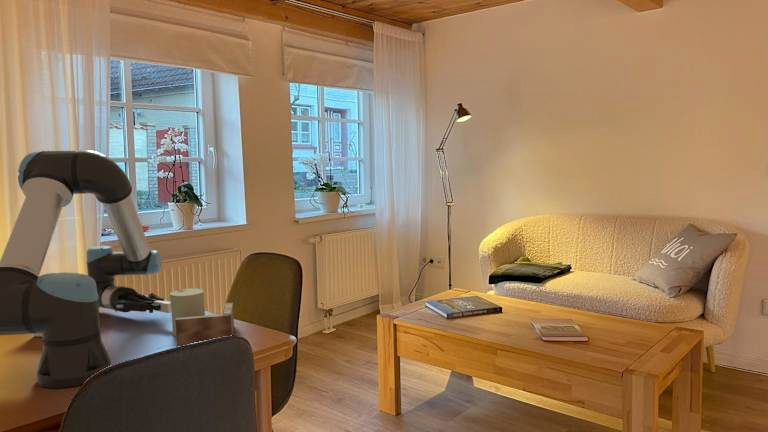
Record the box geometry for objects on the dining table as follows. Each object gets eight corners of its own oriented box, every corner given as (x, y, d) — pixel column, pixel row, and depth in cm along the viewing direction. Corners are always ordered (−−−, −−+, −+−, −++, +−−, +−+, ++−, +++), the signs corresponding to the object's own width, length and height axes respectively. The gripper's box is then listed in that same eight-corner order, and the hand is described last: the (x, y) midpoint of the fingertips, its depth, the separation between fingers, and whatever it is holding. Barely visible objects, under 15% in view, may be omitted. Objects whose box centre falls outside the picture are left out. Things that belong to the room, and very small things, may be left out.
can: (192, 325, 174) (190, 285, 172) (213, 330, 168) (211, 288, 167) (165, 333, 166) (162, 291, 165) (185, 339, 161) (183, 295, 160)
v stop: (173, 345, 156) (171, 319, 155) (230, 325, 172) (229, 302, 172) (202, 351, 150) (200, 324, 149) (258, 331, 166) (257, 306, 165)
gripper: (140, 305, 189) (189, 315, 177) (102, 315, 179) (151, 326, 166) (138, 282, 189) (187, 290, 176) (100, 291, 178) (149, 300, 165)
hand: (170, 307), depth 171 cm, fingers closed
